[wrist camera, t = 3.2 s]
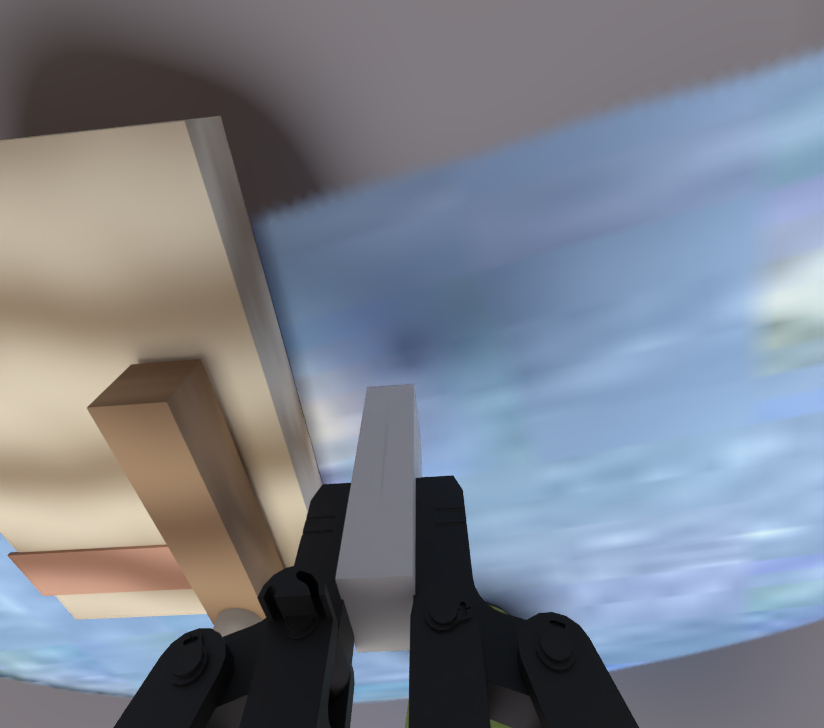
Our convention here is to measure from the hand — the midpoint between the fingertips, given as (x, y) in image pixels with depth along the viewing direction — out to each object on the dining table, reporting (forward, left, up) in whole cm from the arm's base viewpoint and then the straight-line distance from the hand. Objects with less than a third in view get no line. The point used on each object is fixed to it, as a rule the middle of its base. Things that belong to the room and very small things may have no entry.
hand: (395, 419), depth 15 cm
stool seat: (+2, -12, -4) cm, 12 cm away
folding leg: (+4, -7, -1) cm, 8 cm away
